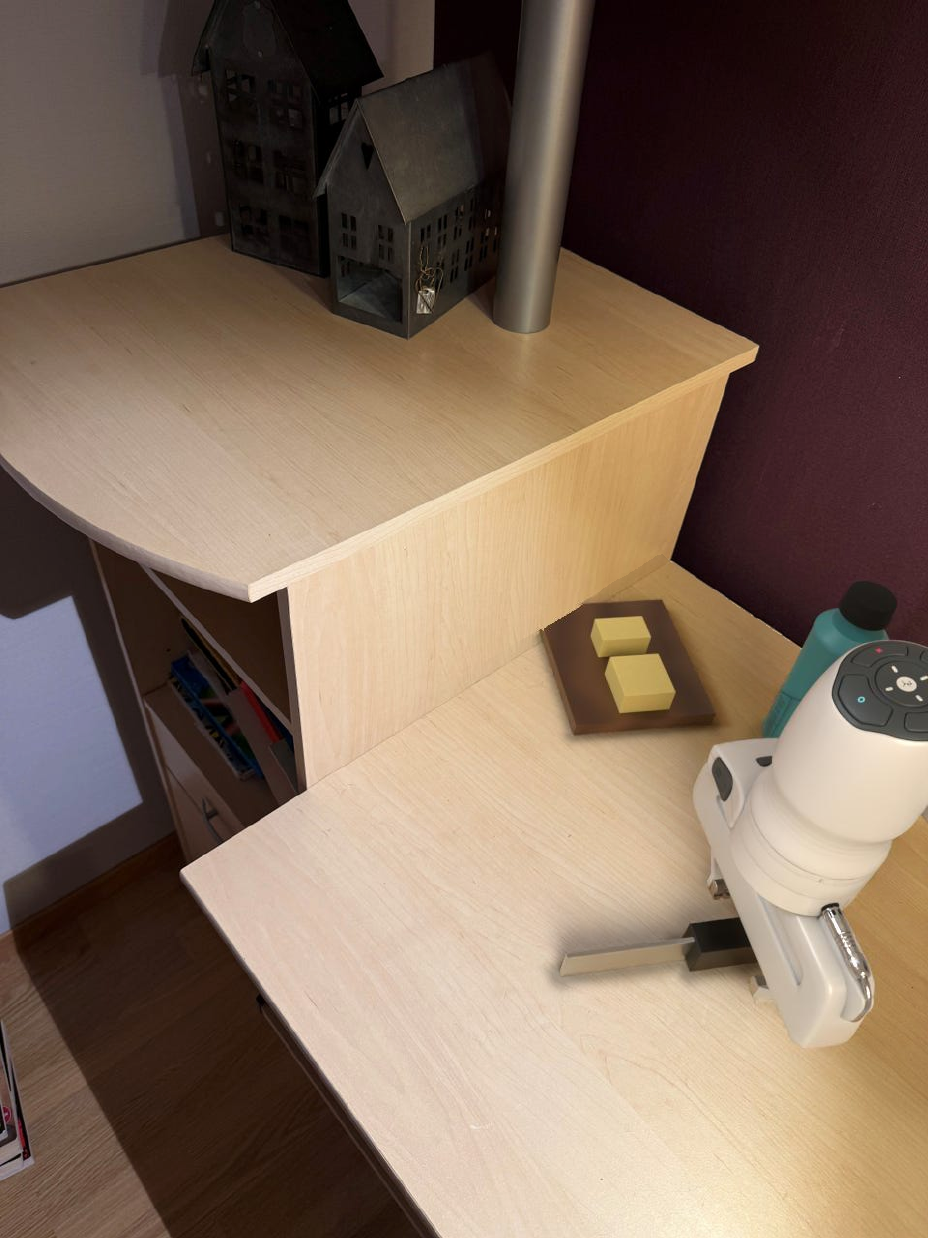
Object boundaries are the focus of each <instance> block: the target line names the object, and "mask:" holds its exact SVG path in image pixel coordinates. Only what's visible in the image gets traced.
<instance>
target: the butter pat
mask: <svg viewBox="0 0 928 1238" xmlns="http://www.w3.org/2000/svg"><path fill="white" fill-rule="evenodd" d="M591 639H592V642H593V644H594V647H595V650H596V652H597V655H598V657H610V656H625V655H640V654H646V651H647V648H648V645H649V642H650V639H651V636H650V633H649V631H648V629H647V627H646V624H645V622H644V620H643V618H642V616H637V617H619V618H602V619H595V621H594V625H593V628H592V632H591Z"/></svg>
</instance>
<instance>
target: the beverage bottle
mask: <svg viewBox="0 0 928 1238" xmlns="http://www.w3.org/2000/svg"><path fill="white" fill-rule="evenodd" d="M897 609H898V599H897V597H896V595H895V594H894V593H893V592H892V591H891V590H890V589H888V587H886V586H885V585H882V584H880V583H878V582H875V581H870V580H858V581H855V582H853V583H851V585H850V586H849V587H848V589H847V590H846V591H845V593H844V594H843V596H842V597H841V598H840V600H839V603H838V607H837V608H831V609H827V610H825V611H822V612H821V613H820V614H819V615H818V616H817V617H816V618H815V620H814V623H813V626H812V628H811V630H810V632H809V634H808V636H807V637H806V640H805V642H804V643H803V646H802V648H801V650H800V651H799V653H798V655H797V657H796V659H795V661H794V664H793V665H792V667H791V669H790V671H789V673H788V674H787V675H786V676H785V680H784V681H783V683H782V685H781V687H780V689H779V691H778V692H777V694H776V696H775V699H774V700H773V702H772V704H771V706H770V708H769V710H768V711H767V714H766V717H765V719H763V723H762V725H761V738H779V737H780V735H781V733H782V731H783V729H784V728H785V726H786V724H787V722H788V721H789V719H790V717H791V716H792V714H793V712H794V711H795V709H796V708H797V706H798V705H799V703H800V702H801V700H802V699H803V698H804V696H805V695H806V694H807V692H808V691H809V690H810V688H811V687H812V686H813V685H814V683H815V682H816V681H817V680H818V679H819V678H820V676H821V675H822V674H823V673H824V672H825V671H826V670H827V669H828V668H829V667H830V666H831V665H832V664H833V663H834V662H835V661H837V660H838V659H839V658H840V657H841V656H843V655H844V654H845V653H846V652H848V651H849V650H851V649H853V648H855V647H857V646H859V645H862V644H864V643H869V642H873V641H879V640H890V638H889V636H888V634H887V631H886V630H885V629H887V628H888V627H889V626H890V624H891V622H892V620H893V619H894V615H895V613H896V610H897Z"/></svg>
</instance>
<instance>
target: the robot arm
mask: <svg viewBox="0 0 928 1238" xmlns="http://www.w3.org/2000/svg"><path fill="white" fill-rule="evenodd" d="M692 804H693V809H694V812H695V814H696V816H697V818H698V821H699V823H700V825H701V828H702V830H703V833H704V835H705V837H706V840H707V843H708V845H709V848H710V875H709V877H708V878H707V880H706V885H707V888H708V890H709V892H710V895H711V897H712V899H713V901H720V900H721V899H723V900H728V899H729V900H730V899H731V900H732V903H733V905H734V907H735V909H736V912H737V914H738V915H737V916H738V917H740V919H741V922H742V924H743V927H744V929H745V931H746V934H747V936H748V939H749V941H750V943H751V946H752V948H753V951H754V953H755V956H756V958H757V960H758V962H757V964H758V965H759V968H760V970H761V973H760V974H754V975H752V976H751V978H750V979H749V981H748V982H747V984H746V985H747V987H748V990H749V992H750V995H751V999H752V1002H753V1003H754V1005H765V1004H771V1003H775V1007H776V1009H777V1010H778V1013H779V1016H780V1018H781V1021H782V1022H783V1026H784V1028H785V1030H786V1033H787V1035H788V1037H789V1039H790V1041H791V1042H792V1043H793V1044H794V1045H796V1046H798V1047H800V1048H801V1049H803V1050H819V1049H825V1048H831V1047H836V1046H840V1045H842V1044H845V1043H847V1042H848V1041H849V1040H850V1039H851V1038H852V1037H853V1035H854V1034H855V1033H856V1031H857V1030H858V1029H859V1027H860V1026H861V1024H862V1022H863V1021H864V1019H865V1017H866V1015H867V1014H869V1013H870V1012H871V1011H872V1009H873V1007H874V1004H875V999H874V998H875V990H876V989H875V988H876V985H875V984H876V983H875V977H874V974H873V971H872V968H871V965H870V963H869V961H868V959H867V957H866V955H865V953H864V951H863V948H862V947H861V945H860V943H859V940H858V938H857V936H856V935H855V933H854V931H853V929H852V926H851V925H850V923H849V921H848V919H847V917H846V915H845V913H844V911H843V910H844V909H846V908H847V907H848V906H850V905H851V904H852V903H853V901H854V900H855V899H856V898H857V896H859V894H860V893H861V892H862V890H863V889H864V888H865V886H866V885H867V884H868V883H869V882H870V880H871V879H872V878H873V877H874V875H875V874H876V872H878V870H879V868H880V867H882V865H883V863H884V862H885V861H886V860H887V857H888V856H889V854H890V851H891V848H892V845H893V840H894V839H897V838H898V837H900V836H901V835H904V834H905V833H906V832H907V831H908V830H909V829H910V828H911V827H912V826H913V825H914V824H915V823H916V822H917V821H918V819H920V817H922V818H923V819H924V821H925V822H926V823H927V824H928V647H927V646H924V645H921V644H919V643H915V642H911V641H906V640H899V639H898V640H896V639H889V640H879V641H873V642H869V643H864V644H862V645H859V646H857V647H855V648H853V649H851V650H849V651H848V652H846V653H845V654H844V655H843V656H841V657H840V658H839V659H838V660H837V661H835V662H834V663H833V664H832V665H831V666H830V667H829V668H828V669H827V670H826V671H825V672H824V673H823V674H822V675H821V676H820V678H819V679H818V680H817V681H816V682H815V683H814V685H813V686H812V687H811V688H810V690H809V691H808V692H807V694H806V695H805V696H804V698H803V699H802V700H801V702H800V703H799V705H798V706H797V708H796V709H795V711H794V712H793V714H792V716H791V717H790V719H789V721H788V722H787V724H786V726H785V728H784V729H783V731H782V733H781V735H780V737H779V738H763V737H760V738H747V739H740V740H739V739H738V740H731V741H725V742H720V743H716V744H714V745H713V746H712V747H711V749H710V751H709V753H708V758H707V761H706V762H705V763H704V765H703V767H702V768H701V770H700V771H699V773H698V776H697V778H696V780H695V782H694V785H693V788H692Z"/></svg>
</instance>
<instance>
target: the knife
mask: <svg viewBox="0 0 928 1238" xmlns="http://www.w3.org/2000/svg"><path fill="white" fill-rule="evenodd" d="M684 960H685V963H686V965H687V968H688V971H689V972H690V973H692V972H698V971H699V972H700V971H706V970H713V969H720V968H729V967H736V966H742V965H743V966H744V965H749V964H756V963H757V964H758V960H757V958H756V956H755V953H754V951H753V948H752V946H751V943H750V941H749V939H748V936H747V934H746V931H745V929H744V927H743V924H742V922H741V919H740V917H739V916H736V917H729V918H721V919H713V920H704V921H698V922H697V921H696V922H690V923H689V924H688V926H687V928H686V929H685V931H684V933H683V935H682V937H681V938H674V939H673V938H672V939H666V940H657V941H651V942H645V943H644V942H643V943H636V944H628V945H619V946H612V947H605V948H598V949H597V948H596V949H590V950H581V951H574V952H567V953H565V955H564V958H563V961H562V964H561V966H560V967H559V976H560V977H566V976H573V975H581V974H587V973H589V974H590V973H595V972H601V971H602V972H603V971H610V970H618V969H624V968H625V969H626V968H632V967H633V968H634V967H640V966H646V965H647V966H648V965H655V964H660V963H661V964H663V963H670V962H676V961H677V962H678V961H684Z"/></svg>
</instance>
